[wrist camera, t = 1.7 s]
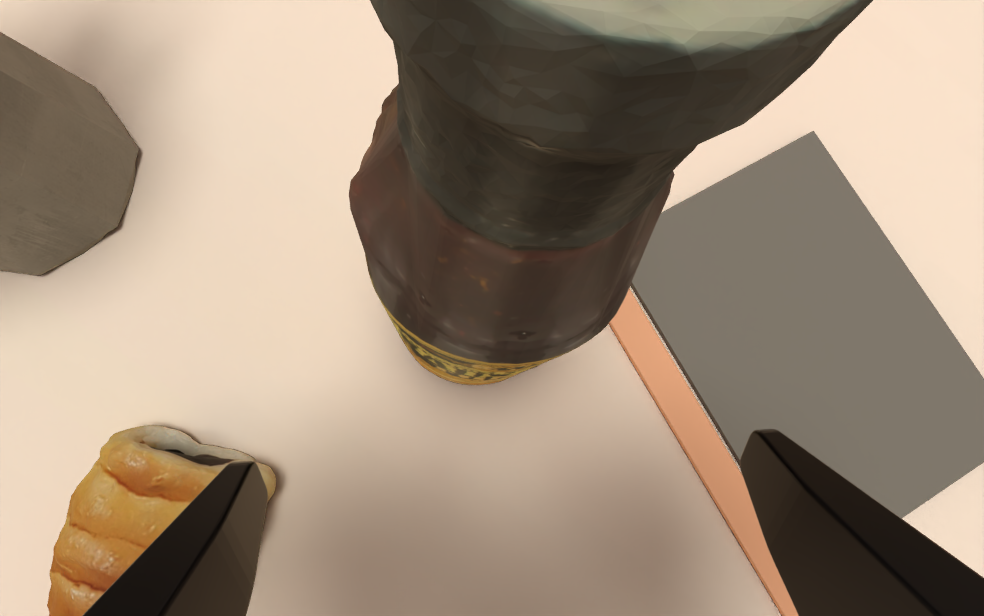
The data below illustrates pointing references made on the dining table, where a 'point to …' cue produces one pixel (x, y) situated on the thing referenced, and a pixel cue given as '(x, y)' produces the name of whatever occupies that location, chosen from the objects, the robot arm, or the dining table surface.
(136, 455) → the pastry
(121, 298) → the dining table surface
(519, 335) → the sauce bottle
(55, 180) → the coffeepot
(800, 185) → the charcoal mat
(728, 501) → the terracotta line
